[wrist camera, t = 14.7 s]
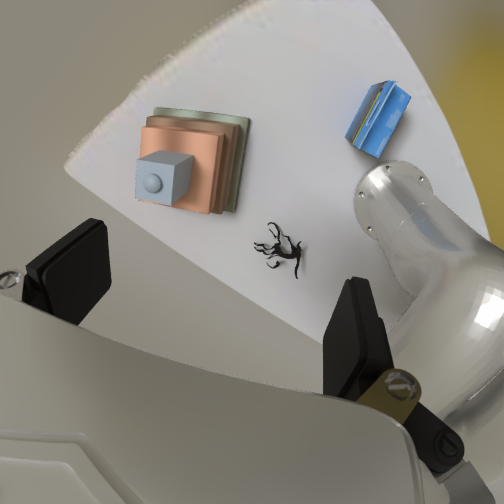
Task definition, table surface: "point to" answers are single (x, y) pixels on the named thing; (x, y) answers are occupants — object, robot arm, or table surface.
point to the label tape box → (377, 117)
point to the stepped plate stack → (201, 154)
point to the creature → (295, 251)
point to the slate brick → (163, 176)
